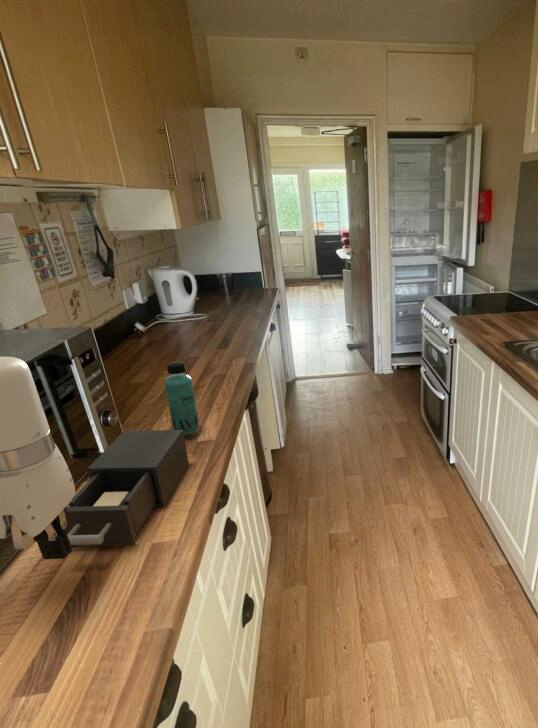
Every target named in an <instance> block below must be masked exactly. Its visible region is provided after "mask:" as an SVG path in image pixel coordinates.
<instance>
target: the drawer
mask: <svg viewBox="0 0 538 728" xmlns="http://www.w3.org/2000/svg"><path fill="white" fill-rule="evenodd" d="M104 492H129V495H128V496H127V498H126V499H125V500H124V505H122V506H93V505H94V504H95V503H96V502H97V501H98V499H99V498H100V497H101V496H102V495H103V493H104ZM157 501H158V494H157V490H156V485H155V481H154V477H153V472H152V471H114V472H97V473H96V474H95V475H94V476H93V477H92V478H91V479H90V478H89V480H88V481H87V482H86V483H85V484H84V485H83V486H82V488H80V489H79V490H78V491H77V493H75V495H74V497H73V499H72V501H71V502H70V504H69V506H68V507H67V509H66V514H65V516H66V521H67V526H66V528H65V529H64V530H66V533H67V536H68V539H69V541H70V544H71V547H72V548H84V547H85V548H86V547H87V548H89V547H116V546H117V547H119V546H135V545H136V544H137V542H138V536H137V534H138V532H139V531H140V529H141V528H142V526H143V525H144V523H145V521H146V520H147V518H148V517H149V515H150V513H152V510H153V509H154V508H155V507H154V506H155V504H156V502H157Z"/></svg>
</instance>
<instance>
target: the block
mask: <svg viewBox="0 0 538 728" xmlns="http://www.w3.org/2000/svg"><path fill="white" fill-rule="evenodd" d="M128 495H129V492H104V493H103V495H102V496H101V497H100V498H99V499H98V501H97V502H96V503H95V504H94V505H93V506H122V505H124V500H125V499H126V498H127V496H128Z"/></svg>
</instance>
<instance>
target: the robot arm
mask: <svg viewBox="0 0 538 728" xmlns="http://www.w3.org/2000/svg"><path fill="white" fill-rule="evenodd" d="M75 487H76V486H75V482H74V479H73V477H72V473H71V471H70V468H69V467H68V464H67V462H66V460H65V458H64V456H63V454H62V452H61V451H60V449H59V447H58V446H57V444H56V443H55V440H54V438H53V434H52V432H51V429H50V425H49V422H48V419H47V416H46V413H45V410H44V407H43V404H42V402H41V398H40V395H39V392H38V390H37V385H36V384H35V381H34V378H33V374H32V371H31V369H30V367H29V366H28V364H27V363H26V362H25V361H24V360H22V358H18V357H14V356H0V540H5V539H7V538H9V537H10V536H11V538H12V544H13V545H12V546H13V549H14V550H15V551H20V550H27V549H29V548H30V547H31V546H33V545H34V544H35V543H36V544H37V546H38V548H39V551H40V554H41V557H42V559H44V560H65V559H66V558H67V557H68V556H69V554H70V553H71V552H72V551H73V547H71V544H70V541H69V539H68V536H67V533H66V530H64V529H65V528H66V526H67V521H66V516H65V514H66V509H67V507H69V504H70V502H71V501H72V499H73V497H74V496H75V495H76V488H75Z"/></svg>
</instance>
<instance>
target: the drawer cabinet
mask: <svg viewBox="0 0 538 728" xmlns="http://www.w3.org/2000/svg"><path fill="white" fill-rule="evenodd" d="M189 467H190V462H189V458H188V451H187V445H186V441H185V435H183V430H173V429H165V430H164V429H160V430H159V429H156V430H155V429H154V430H153V429H151V430H150V429H149V430H148V429H145V430H123V431H122V432H121V433H120V434H119V435H118V436H117V437H116V439H115V440H113V442H111V443H110V444H109V446H108V447H106V449H105V450H104V451H103V452H102V453H100V454H99V456H98V457H97V458H96V459H95V460H94V461H93V462H92V463H91V464H90V465H89V466H88V467H87V468H86V471H87V473H88V476H89V480H90V479H91V478H92V477H93V476H94V475H95V474H96V473H97V472H114V471H152V472H153V477H154V481H155V485H156V490H157V494H158V501H157V502H156V504H155V506H154V507H153V508H165V507H166V505H167V503H168V502H169V501H170V498H171V497H172V495H173V493H174V492H175V491H176V488H177V487H178V485H179V484H180V482H181V480H182V479H183V477H184V475H185V474H186V472H187V471H188V469H189Z"/></svg>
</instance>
